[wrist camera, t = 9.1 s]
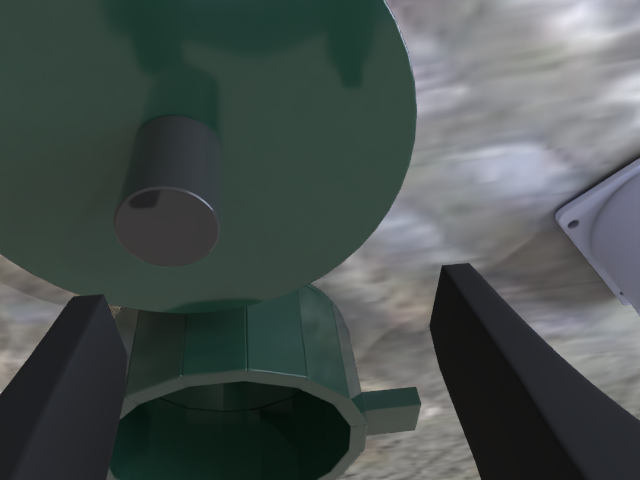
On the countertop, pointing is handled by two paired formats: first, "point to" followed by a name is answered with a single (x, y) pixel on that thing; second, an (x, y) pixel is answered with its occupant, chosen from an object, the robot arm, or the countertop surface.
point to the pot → (247, 394)
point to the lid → (198, 144)
